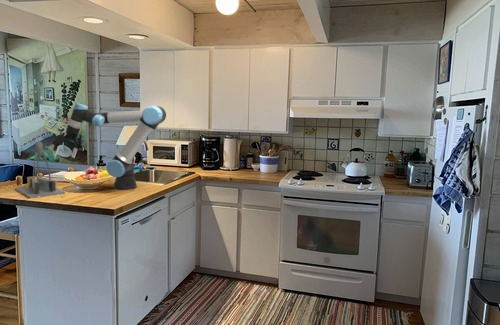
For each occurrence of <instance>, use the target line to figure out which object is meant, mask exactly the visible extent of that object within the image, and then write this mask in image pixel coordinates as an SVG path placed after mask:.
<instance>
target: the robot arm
mask: <svg viewBox="0 0 500 325" xmlns="http://www.w3.org/2000/svg"><path fill="white" fill-rule="evenodd" d="M88 108H89V107H88V106H87V105H86V104H84V103H80V102H76V103H75V105H74V107H73V108H72V112H71V116H70V118H69V122H68V125H67V127H66V129H65V130H66V131H65V132H64V131H60V134H59V135H58V136H57V137H56V138H55V140H53V141H52V142H51V143H52V145H53V152H52V156H54V157H57V154H58V152H59V149H60V146H61V145H62V144H63V143H64V142H66V141H72V142H73V145H74V146H75V147H73V148H72V152H71V158H73V159H75V157H76V154H77V153H78V152H79V150H80V149H82V148H83V145H82V137H83V136H82V135H81V134H80V130H81V128H82V125H83V122H86V123H88V124H91V125H93V126H95V127H98V128H99V127H100V128H101V127H102V126H103V125H105V124H121V123H122V124H123V123H137V122H138V123H139V124H138V125H137V127H136V129H135V130H134V131H133V133H132V135H131V136H130V137H129V139H128V140H127V141H126V143H125V145H124V146H123V148H122V149H121V150H120V151H119V152H116V154H115V155H114V157H113V158H112V159H111V160H110V161H108V162H107V164H106V171H107V173H108V175H109V176H111V177H112V178H115V181H114V183H113V188H114V189H116V190H120V191H121V190H124V191H126V190H133V189H136V188H137V187H138V185H137V182H136V179H135V178H136V177H135V155H137V153H138V151H139V149H141V146H142V145H143V144H144V142H145V141H146V140H147V138H148V136H149V135H150V134H151V132H152V131H156V130H157V128H158V127H159V125H160V124H162V123H163V122H164V121H165V120H166V119H167V118H166V117H167V113H166V111H165V109H164V107H161V106H157V105H149V106H147V107H146V108H144V109H142V110H140V109H139V110H126V111H111V112H110V111H109V112H94V111H92V110H89V109H88Z"/></svg>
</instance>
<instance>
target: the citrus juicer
mask: <svg viewBox="0 0 500 325" xmlns="http://www.w3.org/2000/svg"><path fill="white" fill-rule="evenodd" d="M43 147H44V146H43V142H42V141H36V142H35V143H34V149H35V151H36V152H34V159H33V168H32V170H33V171H32V177H33V176H35V169H36V168H35V167H36V164H37V171H36V172H37V176H40V175H39V170H40V169H39V167H40V166H39V160H41V158H42V156H43V157H44V158H43V159H44V161H45V164H46V168H47V172H48V180H52V179H51V172H50V167H49V163H48V159H47V156H46V154H45V151H43ZM36 159H37V162H36Z"/></svg>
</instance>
